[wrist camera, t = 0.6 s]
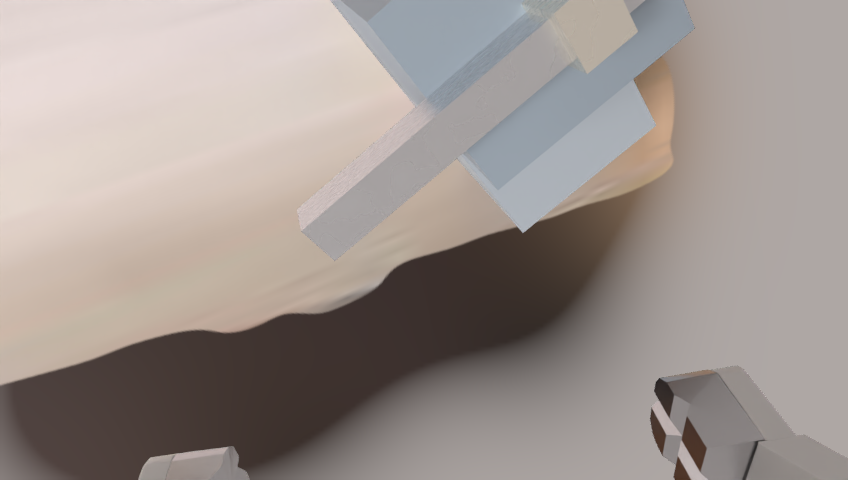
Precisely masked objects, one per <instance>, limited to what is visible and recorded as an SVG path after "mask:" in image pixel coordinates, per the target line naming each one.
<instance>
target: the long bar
mask: <svg viewBox="0 0 848 480" xmlns="http://www.w3.org/2000/svg"><path fill="white" fill-rule="evenodd" d="M644 1H645V0H525V1H524V2H522V3H521V4H522V6H523V8H524V9H525V11H526V12H525V13H524V14H523V15H522V16H521V17H520V18H518V19H517V20H516V21H515V22H514V23H513V24H511V25H510V26H509V27H508V28H507V29H506V30H504V31H503V32H502V33H501V34H500V35H499V36H497V37H496V38H495V39H494V40H493V41H492V42H491V43H489V44H488V45H487V46H486V47H485V48H484V49H482V50H481V51H480V52H479V53H478V54H477V55H475V56H474V57H473V58H472V59H471V60H470V61H468V62H467V63H466V64H465V65H464V66H463V67H462V68H460V69H459V70H458V71H457V72H456V73H455V74H453V75H452V76H451V77H450V78H449V79H448V80H446V81H445V82H444V83H443V84H442V85H441V86H439V87H438V88H437V89H436V90H435V91H434V92H433V93H431V94H430V95H429V96H428V97H427V98H426V99H424V100H423V101H422V102H421V103H420V104H419V105H417V106H416V107H415V108H414V109H413V110H412V111H410V112H409V113H408V114H407V115H406V116H405V117H404V118H402V119H401V120H400V121H399V122H398V123H397V124H395V125H394V126H393V127H392V128H391V129H390V130H388V131H387V132H386V133H385V134H384V135H383V136H381V137H380V138H379V139H378V140H377V141H376V142H375V143H373V144H372V145H371V146H370V147H369V148H368V149H366V150H365V151H364V152H363V153H362V154H361V155H359V156H358V157H357V158H356V159H355V160H354V161H352V162H351V163H350V164H349V165H348V166H347V167H346V168H344V169H343V170H342V171H341V172H340V173H339V174H337V175H336V176H335V177H334V178H333V179H332V180H330V181H329V182H328V183H327V184H326V185H325V186H323V187H322V188H321V189H320V190H319V191H318V192H317V193H315V194H314V195H313V196H312V197H311V198H310V199H308V200H307V201H306V202H305V203H304V204H303V205H301V206H300V207H299V208H298V209H297V213H298V218H299V223H300V228H301V232H302V233H304V234H305V235H306V236H307V237H308V238H309V239H310V240H312V241H313V242H314V243H315V244H316V245H317V246H318V247H319V248H321V249H322V250H323V251H324V252H325V253H326V254H327V255H329V256H330V257H331V258H332V259H333V260H334V261H335V260H337V259H338V258H339V257H340V256H341V255H343V254H344V253H345V252H346V251H347V250H349V249H350V248H351V247H352V246H353V245H354V244H356V243H357V242H358V241H359V240H360V239H362V238H363V237H364V236H365V235H366V234H368V233H369V232H370V231H371V230H372V229H374V228H375V227H376V226H377V225H378V224H379V223H381V222H382V221H383V220H384V219H385V218H387V217H388V216H389V215H390V214H391V213H393V212H394V211H395V210H396V209H397V208H399V207H400V206H401V205H402V204H403V203H404V202H406V201H407V200H408V199H409V198H410V197H412V196H413V195H414V194H415V193H416V192H418V191H419V190H420V189H421V188H422V187H424V186H425V185H426V184H427V183H428V182H430V181H431V180H432V179H433V178H434V177H435V176H437V175H438V174H439V173H440V172H441V171H443V170H444V169H445V168H446V167H447V166H449V165H450V164H451V163H452V162H453V161H455V160H456V159H457V158H458V157H459V156H460V155H462V154H463V153H464V152H465V151H466V150H468V149H469V148H470V147H471V146H472V145H474V144H475V143H476V142H477V141H478V140H480V139H481V138H482V137H483V136H484V135H485V134H487V133H488V132H489V131H490V130H491V129H493V128H494V127H495V126H496V125H497V124H499V123H500V122H501V121H502V120H503V119H505V118H506V117H507V116H508V115H509V114H511V113H512V112H513V111H514V110H515V109H516V108H518V107H519V106H520V105H521V104H522V103H524V102H525V101H526V100H527V99H528V98H530V97H531V96H532V95H533V94H534V93H536V92H537V91H538V90H539V89H540V88H541V87H543V86H544V85H545V84H546V83H547V82H549V81H550V80H551V79H552V78H553V77H555V76H556V75H557V74H558V73H559V72H561V71H562V70H563V69H564V68H565V67H566V66H570V67H573V68H575V69H577V70H579V71H582V72H584V73H586V74H588V73H589V72H591V71H592V70H593V69H594V68H595V67H597V66H598V65H599V64H600V63H601V62H603V61H604V60H605V59H606V58H607V57H609V56H610V55H611V54H612V53H613V52H615V51H616V50H617V49H618V48H619V47H621V46H622V45H623V44H624V43H625V42H627V41H628V40H629V39H630V38H631V37H633V36H634V35H635V34H636V33H637V32H638V30H637V28H636V26H635V24H634V22H633V20H632V18H631V15H630V13H631V12H632V11H633V10H634V9H636V8H637V7H638V6H639V5H640V4H642V3H643V2H644Z"/></svg>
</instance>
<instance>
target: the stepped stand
mask: <svg viewBox="0 0 848 480" xmlns="http://www.w3.org/2000/svg"><path fill="white" fill-rule="evenodd" d="M524 1H525V0H331V2H332V3H333V4H334V5H335V7H336V8H337V9H338V10H339V12H340V13H341V14H342V15H343V17H344V18H345V19H346V20H347V22H348V23H349V24H350V25H351V27H352V28H353V29H354V30H355V32H356V33H357V34H358V35H359V37H360V38H361V39H362V40H363V42H364V43H365V44H366V45H367V47H368V48H369V49H370V50H371V52H372V53H373V54H374V55H375V57H376V58H377V59H378V60H379V62H380V63H381V64H382V65H383V67H384V68H385V69H386V70H387V72H388V73H389V74H390V75H391V77H392V78H393V79H394V80H395V82H396V83H397V84H398V85H399V87H400V88H401V89H402V90H403V92H404V93H405V94H406V95H407V96H408V98H409V99H410V100H411V101H412V103H413V104H414V105H415V106H417V105H419V104H420V103H421V102H422V101H423V100H424V99H426V98H427V97H428V96H429V95H430V94H431V93H433V92H434V91H435V90H436V89H437V88H438V87H439V86H441V85H442V84H443V83H444V82H445V81H446V80H448V79H449V78H450V77H451V76H452V75H453V74H455V73H456V72H457V71H458V70H459V69H460V68H462V67H463V66H464V65H465V64H466V63H467V62H468V61H470V60H471V59H472V58H473V57H474V56H475V55H477V54H478V53H479V52H480V51H481V50H482V49H484V48H485V47H486V46H487V45H488V44H489V43H491V42H492V41H493V40H494V39H495V38H496V37H497V36H499V35H500V34H501V33H502V32H503V31H504V30H506V29H507V28H508V27H509V26H510V25H511V24H513V23H514V22H515V21H516V20H517V19H518V18H520V17H521V16H522V15H523V14H524V13H525V12H526V11H525V9H524V8H523V6H522V4H521V3H522V2H524ZM630 15H631V18H632V20H633V22H634V24H635V26H636V28H637V30H638V32H637V33H636V34H635V35H634V36H633V37H631V38H630V39H629V40H628V41H627V42H625V43H624V44H623V45H622V46H621V47H619V48H618V49H617V50H616V51H615V52H613V53H612V54H611V55H610V56H609V57H607V58H606V59H605V60H604V61H603V62H601V63H600V64H599V65H598V66H597V67H595V68H594V69H593V70H592V71H591V72H589V73H588V74H586V73H584V72H582V71H579V70H577V69H575V68H573V67H570V66H566V67H565V68H564V69H563V70H562V71H561V72H559V73H558V74H557V75H556V76H555V77H553V78H552V79H551V80H550V81H549V82H547V83H546V84H545V85H544V86H543V87H541V88H540V89H539V90H538V91H537V92H536V93H534V94H533V95H532V96H531V97H530V98H528V99H527V100H526V101H525V102H524V103H522V104H521V105H520V106H519V107H518V108H516V109H515V110H514V111H513V112H512V113H511V114H509V115H508V116H507V117H506V118H505V119H503V120H502V121H501V122H500V123H499V124H497V125H496V126H495V127H494V128H493V129H491V130H490V131H489V132H488V133H487V134H485V135H484V136H483V137H482V138H481V139H480V140H478V141H477V142H476V143H475V144H474V145H472V146H471V147H470V148H469V149H468V150H466V151H465V152H464V153H463V154H462V155H460V156H459V157H458V158H457V159H458V160H459V161H460V163H461V164H462V165H463V166H464V167H465V169H466V170H467V171H468V172H469V173H470V174H471V175H472V176H473V178H474V179H475V180H476V181H477V182H478V183H479V184H480V185H481V186H482V188H483V189H484V190H485V191H486V192H487V193H488V194H489V195H490V197H491V198H492V199H493V200H494V201H495V202H496V203H497V204H498V205H499V207H500V208H501V209H502V210H503V211H504V212H505V213H506V214H507V216H508V217H509V218H510V219H511V220H512V221H513V222H514V223H515V225H516V226H517V227H518V228H519V229H520V230H521V231H522V232H525V230H527V229H528V228H529V227H531V226H532V225H533V224H535V223H536V222H537V221H538V220H540V219H541V218H542V217H543V216H544V215H546V214H547V213H548V212H549V211H551V210H552V209H553V208H554V207H556V206H557V205H558V204H559V203H561V202H562V201H563V200H564V199H566V198H567V197H568V196H569V195H571V194H572V193H573V192H574V191H575V190H577V189H578V188H579V187H580V186H582V185H583V184H584V183H585V182H587V181H588V180H589V179H590V178H592V177H593V176H594V175H595V174H597V173H598V172H599V171H600V170H602V169H603V168H604V167H605V166H606V165H608V164H609V163H610V162H611V161H613V160H614V159H615V158H616V157H618V156H619V155H620V154H621V153H623V152H624V151H625V150H626V149H628V148H629V147H630V146H631V145H633V144H634V143H635V142H636V141H637V140H639V139H640V138H641V137H642V136H644V135H645V134H646V133H647V132H649V131H650V130H651V129H652V128H654V127H655V126H656V124H655V122H654V120H653V118H652V116H651V114H650V112H649V110H648V108H647V106H646V104H645V102H644V100H643V98H642V96H641V94H640V92H639V90H638V88H637V86H636V84H635V82H634V80H633V79H634V78H635V77H637V76H638V75H639V74H640V73H641V72H643V71H644V70H645V69H646V68H647V67H649V66H650V65H651V64H652V63H654V62H655V61H656V60H657V59H658V58H660V57H661V56H662V55H663V54H664V53H666V52H667V51H668V50H669V49H671V48H672V47H673V46H674V45H675V44H677V43H678V42H679V41H680V40H682V39H683V38H684V37H685V36H686V35H687V34H689V33H690V32H691V31H692V30H694V29H695V28H694V25H693V23H692V20H691V17H690V15H689V12H688V10H687V7H686V5H685V2H684V0H645V1H644V2H643V3H642V4H640V5H639V6H638V7H637V8H636V9H634V10H633V11H632V12H631V13H630Z"/></svg>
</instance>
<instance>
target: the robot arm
mask: <svg viewBox="0 0 848 480" xmlns="http://www.w3.org/2000/svg"><path fill="white" fill-rule="evenodd" d="M654 392H655V394H656V396H657V398H658V399H659V400H658V401H657V402H656V403H655V404H654V405H653V406H652V408H651V415H650V421H651V428H652V433H653V436H654V439H655V441H656V444H657V446H658V448H659V450H660V452H661V454H662V456H663V457H665V458H667V459H668V460H669V461H671V462H672V463H674V464H675V465H676V467H675V472H674V479H675V480H848V458H846V457H844V456H842V455H840V454H839V453H837V452H835V451H833V450H831V449H830V448H828V447H826V446H824V445H822V444H821V443H819V442H817V441H815V440H813V439H811V438H810V437H808V436H806V435H797V436H796V435H795V433H794V432H793V431H792V429H791V428H790V427H789V426H788V424H787V423H786V422H785V421H784V419H783V418H782V417H781V416H780V415H779V413H778V412H777V411H776V409H775V408H774V407H773V406H772V404H771V403H770V402H769V401H768V399H767V398H766V397H765V395H764V394H763V393H762V392H761V390H760V389H759V388H758V386H757V385H756V384H755V383H754V381H753V380H752V379H751V378H750V376H749V375H748V374H747V373H746V371H745V370H744V369H742V368H741V367H739V366H731V367H725V368H719V369H712V370H702V371H697V372H691V373H685V374H680V375H674V376H668V377H662V378H659V379H658V380H657V381H656V384H655V389H654ZM238 460H239V456H238V455H237V452H236V451H235V449H234V447H225V448H217V449H210V450H202V451H194V452H187V453H179V454H172V455H166V456H158V457H151V458H149V460H148V461H147V462H146V464H145V465H144V466H143V468H142V471H141V474H140V476H139V479H138V480H250V479H249V477H248V475H247V473H246V471H244V470H242V469H240V468H238V467H237V465H238Z"/></svg>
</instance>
